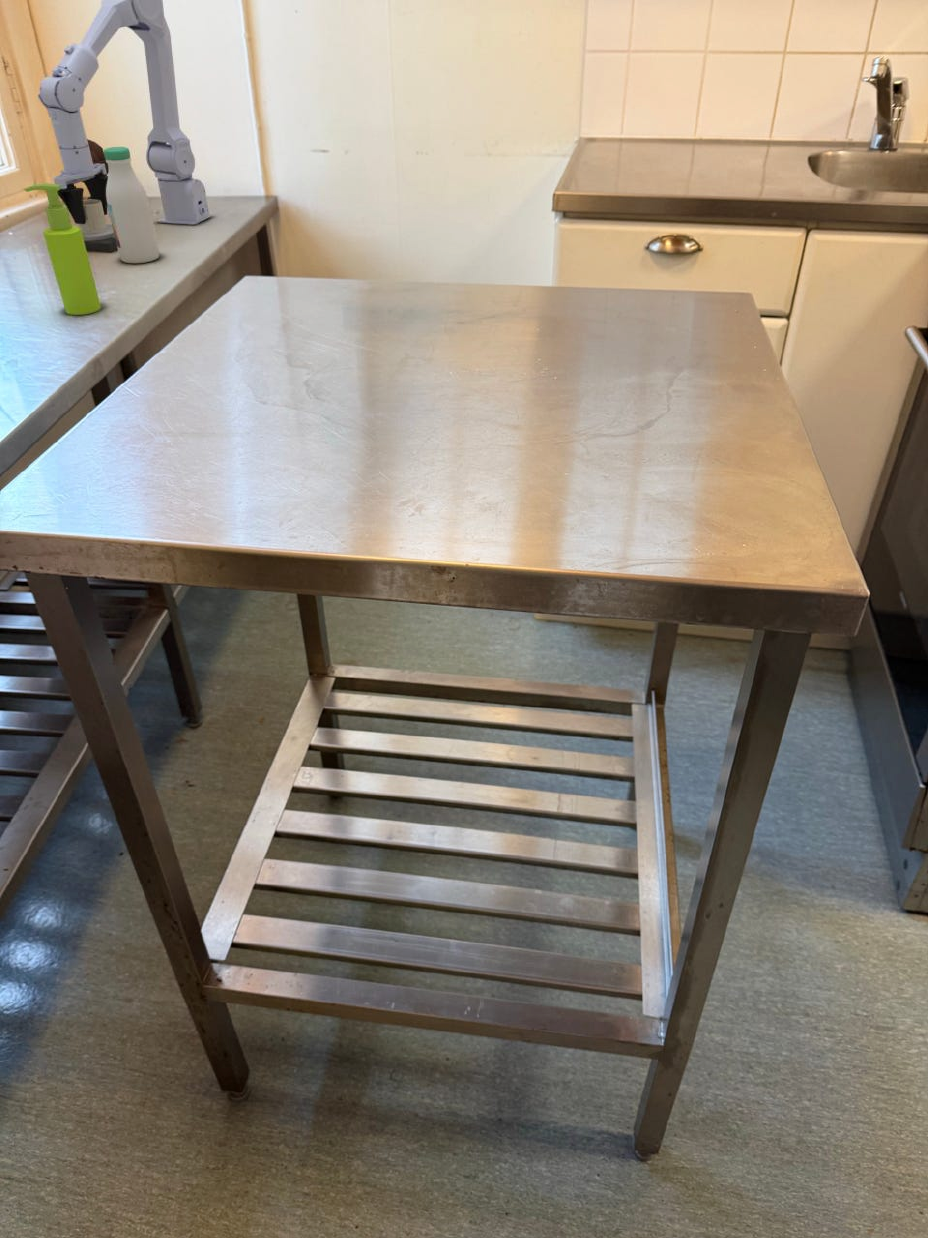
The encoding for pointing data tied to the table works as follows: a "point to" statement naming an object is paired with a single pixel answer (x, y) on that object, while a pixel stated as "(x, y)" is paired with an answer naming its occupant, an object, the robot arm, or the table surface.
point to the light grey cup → (93, 217)
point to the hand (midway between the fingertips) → (91, 218)
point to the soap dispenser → (68, 256)
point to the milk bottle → (129, 209)
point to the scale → (101, 241)
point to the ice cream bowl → (97, 156)
